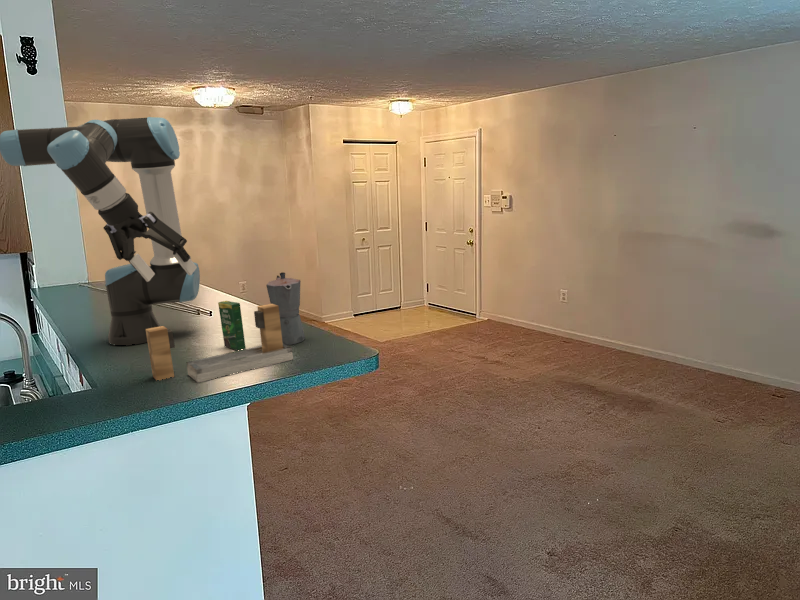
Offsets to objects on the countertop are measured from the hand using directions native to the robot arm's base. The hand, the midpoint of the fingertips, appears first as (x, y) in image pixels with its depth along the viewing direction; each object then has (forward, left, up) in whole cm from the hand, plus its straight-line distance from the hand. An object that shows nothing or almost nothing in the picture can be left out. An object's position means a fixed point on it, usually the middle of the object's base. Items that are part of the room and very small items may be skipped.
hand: (171, 274), depth 137 cm
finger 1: (-1, -5, -25) cm, 25 cm away
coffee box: (-13, +17, -25) cm, 33 cm away
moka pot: (-8, +31, -25) cm, 41 cm away
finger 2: (+6, +21, -22) cm, 31 cm away
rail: (+6, +12, -24) cm, 28 cm away
